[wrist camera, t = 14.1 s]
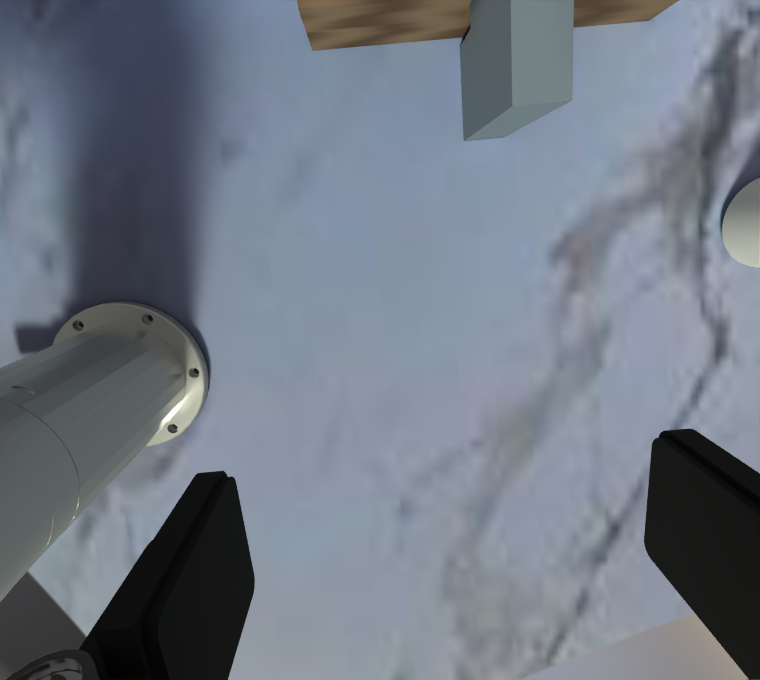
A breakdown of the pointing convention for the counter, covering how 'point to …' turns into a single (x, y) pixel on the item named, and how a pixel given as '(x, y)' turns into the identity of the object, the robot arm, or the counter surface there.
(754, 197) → the can
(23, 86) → the counter surface
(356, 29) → the walnut slotted board
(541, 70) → the plain grey board
